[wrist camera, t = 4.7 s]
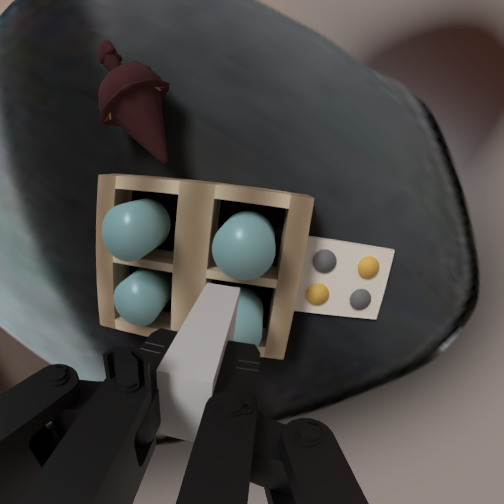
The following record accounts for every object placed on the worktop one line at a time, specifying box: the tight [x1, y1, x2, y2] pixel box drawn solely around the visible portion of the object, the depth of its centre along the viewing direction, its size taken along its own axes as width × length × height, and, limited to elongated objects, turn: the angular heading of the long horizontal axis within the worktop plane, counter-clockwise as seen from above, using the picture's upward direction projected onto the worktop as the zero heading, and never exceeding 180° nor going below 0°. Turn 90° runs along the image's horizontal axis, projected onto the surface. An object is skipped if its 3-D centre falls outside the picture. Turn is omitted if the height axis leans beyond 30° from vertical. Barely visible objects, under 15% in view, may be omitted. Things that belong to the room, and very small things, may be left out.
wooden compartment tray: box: [96, 174, 314, 359], centre depth 29 cm, size 20×16×4 cm
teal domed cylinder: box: [233, 287, 263, 347], centre depth 27 cm, size 5×5×5 cm
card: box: [294, 236, 395, 319], centre depth 31 cm, size 10×8×1 cm
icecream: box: [97, 40, 169, 164], centre depth 24 cm, size 7×7×15 cm
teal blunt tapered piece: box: [212, 211, 276, 280], centre depth 25 cm, size 5×5×5 cm
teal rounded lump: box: [114, 267, 172, 326], centre depth 29 cm, size 5×5×5 cm
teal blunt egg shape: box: [102, 198, 171, 262], centre depth 25 cm, size 5×5×5 cm
